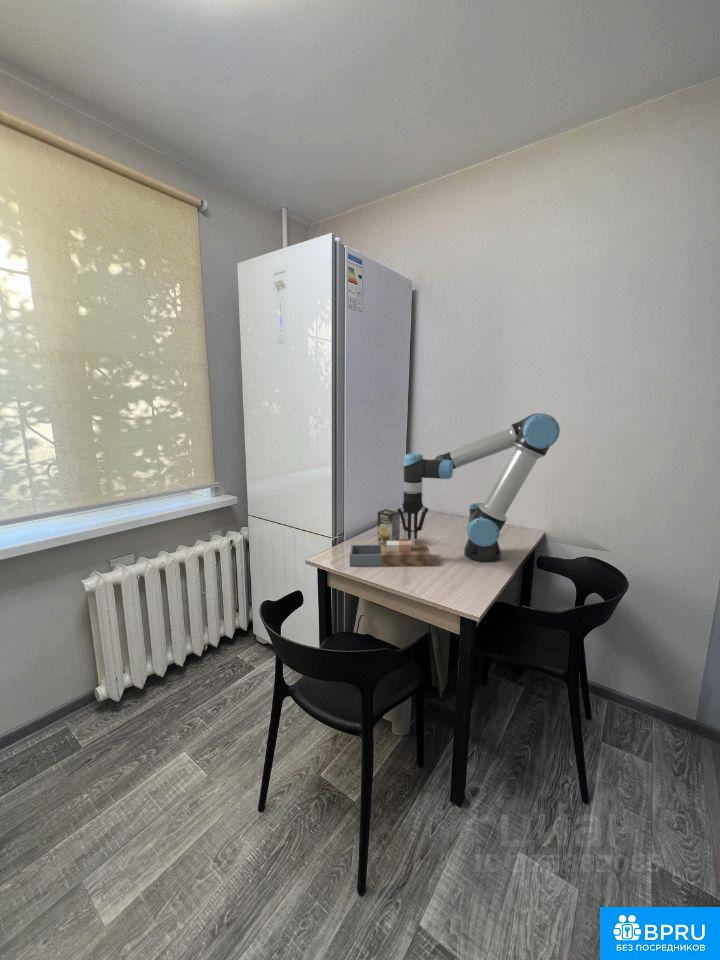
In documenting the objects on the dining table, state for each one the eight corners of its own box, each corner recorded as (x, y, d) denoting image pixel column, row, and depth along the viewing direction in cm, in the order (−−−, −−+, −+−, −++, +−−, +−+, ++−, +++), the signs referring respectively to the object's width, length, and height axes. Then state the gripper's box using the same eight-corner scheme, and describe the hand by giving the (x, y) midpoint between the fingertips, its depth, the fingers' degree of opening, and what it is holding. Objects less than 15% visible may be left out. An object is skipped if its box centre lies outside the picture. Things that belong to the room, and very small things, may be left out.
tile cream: (398, 547, 165) (398, 540, 164) (399, 551, 160) (399, 544, 160) (386, 547, 165) (386, 540, 165) (387, 551, 160) (387, 544, 160)
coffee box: (377, 544, 184) (376, 511, 181) (385, 540, 189) (385, 508, 186) (392, 548, 178) (391, 514, 175) (400, 544, 182) (400, 511, 179)
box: (380, 555, 170) (380, 544, 169) (381, 566, 158) (381, 555, 157) (351, 555, 170) (351, 545, 169) (349, 566, 158) (349, 555, 157)
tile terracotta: (410, 547, 165) (410, 540, 164) (411, 551, 160) (411, 544, 159) (398, 547, 165) (398, 540, 164) (399, 551, 160) (399, 544, 160)
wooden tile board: (426, 555, 169) (426, 544, 168) (430, 566, 157) (430, 554, 156) (380, 555, 170) (380, 544, 169) (381, 566, 158) (381, 555, 157)
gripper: (427, 489, 161) (426, 542, 166) (396, 489, 162) (396, 543, 166) (430, 493, 154) (429, 549, 158) (397, 493, 154) (397, 549, 159)
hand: (412, 546), depth 162 cm, fingers closed
